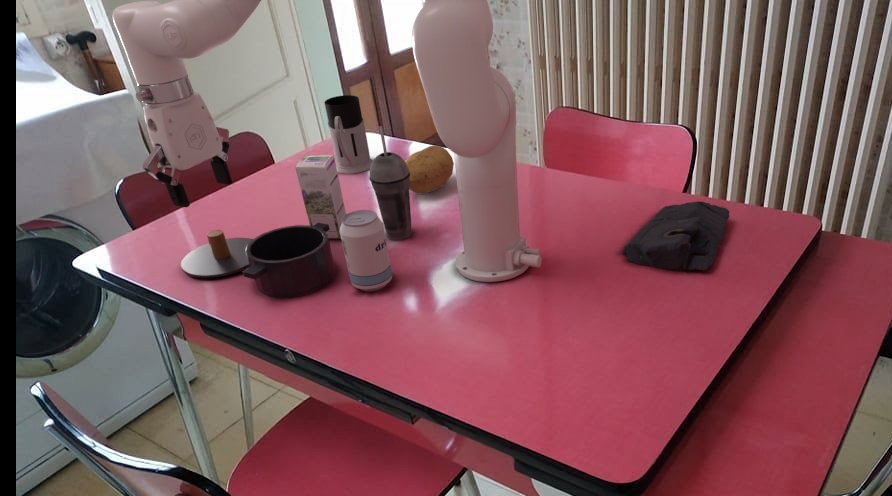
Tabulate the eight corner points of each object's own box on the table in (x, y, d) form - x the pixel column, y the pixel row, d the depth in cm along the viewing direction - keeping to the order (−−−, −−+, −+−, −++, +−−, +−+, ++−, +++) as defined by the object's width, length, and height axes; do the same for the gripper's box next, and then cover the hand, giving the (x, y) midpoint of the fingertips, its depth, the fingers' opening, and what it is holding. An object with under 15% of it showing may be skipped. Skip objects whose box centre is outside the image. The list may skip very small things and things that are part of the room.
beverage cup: (382, 246, 126) (362, 138, 114) (377, 230, 131) (358, 125, 119) (422, 239, 127) (406, 131, 115) (415, 223, 133) (399, 118, 121)
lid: (281, 249, 127) (273, 222, 124) (224, 287, 117) (213, 258, 114) (224, 237, 133) (215, 211, 130) (165, 272, 123) (154, 244, 120)
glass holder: (375, 158, 163) (364, 93, 154) (367, 181, 152) (354, 112, 143) (338, 160, 163) (325, 95, 154) (328, 184, 152) (312, 115, 143)
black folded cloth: (742, 222, 124) (746, 197, 121) (705, 278, 109) (709, 251, 106) (660, 208, 130) (662, 185, 128) (615, 260, 116) (616, 234, 113)
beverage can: (387, 294, 112) (375, 226, 104) (346, 294, 113) (331, 227, 105) (397, 273, 117) (386, 207, 110) (358, 273, 118) (344, 208, 111)
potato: (390, 199, 143) (384, 162, 138) (427, 175, 152) (423, 139, 148) (429, 206, 139) (424, 168, 134) (465, 180, 148) (461, 144, 143)
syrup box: (350, 226, 134) (334, 153, 125) (341, 240, 129) (325, 165, 120) (321, 226, 134) (304, 154, 126) (312, 240, 130) (293, 166, 121)
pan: (360, 259, 122) (353, 225, 118) (289, 312, 109) (279, 276, 105) (302, 247, 128) (293, 214, 124) (228, 297, 115) (216, 261, 111)
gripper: (138, 109, 100) (180, 218, 110) (225, 76, 112) (256, 177, 122) (104, 106, 103) (148, 212, 113) (192, 75, 115) (225, 173, 125)
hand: (204, 194), depth 118 cm, fingers open, 9 cm apart
